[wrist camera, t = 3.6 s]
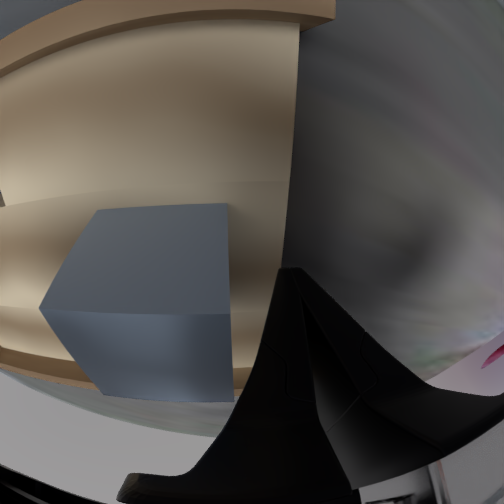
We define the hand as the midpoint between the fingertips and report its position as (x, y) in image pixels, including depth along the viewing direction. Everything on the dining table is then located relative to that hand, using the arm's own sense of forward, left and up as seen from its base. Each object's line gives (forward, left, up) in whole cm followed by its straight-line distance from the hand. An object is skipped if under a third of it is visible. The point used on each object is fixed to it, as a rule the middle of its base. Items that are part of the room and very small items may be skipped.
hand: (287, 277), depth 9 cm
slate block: (0, +4, -1) cm, 4 cm away
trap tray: (0, +10, -3) cm, 10 cm away
